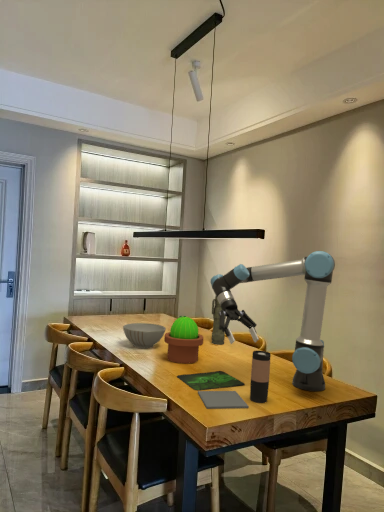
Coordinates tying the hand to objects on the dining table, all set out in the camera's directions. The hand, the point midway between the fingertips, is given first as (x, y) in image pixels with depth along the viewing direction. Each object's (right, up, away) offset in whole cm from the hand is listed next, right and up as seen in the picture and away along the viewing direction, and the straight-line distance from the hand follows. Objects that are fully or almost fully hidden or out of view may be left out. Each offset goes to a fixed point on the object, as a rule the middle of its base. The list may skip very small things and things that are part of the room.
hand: (245, 341), depth 172 cm
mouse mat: (-15, -22, +12) cm, 29 cm away
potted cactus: (-29, -21, +46) cm, 58 cm away
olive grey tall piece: (-6, -22, +94) cm, 96 cm away
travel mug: (+4, -23, -9) cm, 25 cm away
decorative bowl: (-55, -19, +72) cm, 92 cm away
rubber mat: (-11, -21, -12) cm, 27 cm away
